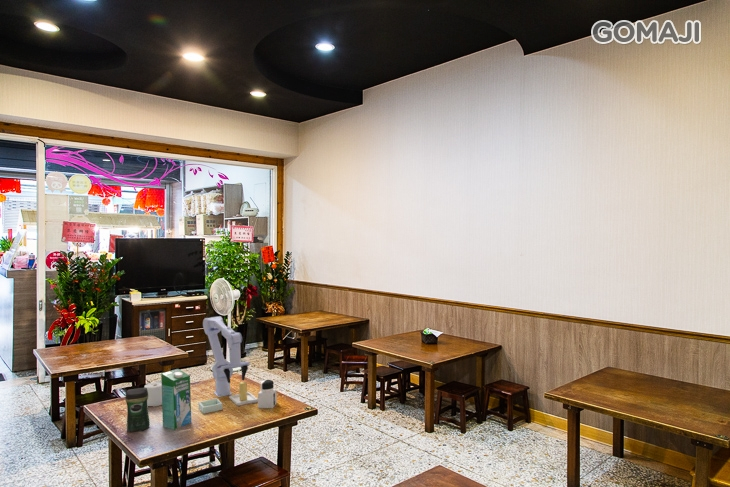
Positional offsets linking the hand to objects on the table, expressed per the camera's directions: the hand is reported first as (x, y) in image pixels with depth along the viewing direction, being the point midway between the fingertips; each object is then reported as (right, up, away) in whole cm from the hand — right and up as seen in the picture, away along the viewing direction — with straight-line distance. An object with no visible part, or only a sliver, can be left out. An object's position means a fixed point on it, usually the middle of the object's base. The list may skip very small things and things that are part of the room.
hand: (236, 381), depth 253 cm
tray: (+4, -10, 0) cm, 11 cm away
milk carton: (-19, -12, -31) cm, 38 cm away
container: (+19, -10, -9) cm, 23 cm away
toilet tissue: (-43, -12, 0) cm, 45 cm away
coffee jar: (-36, -12, -35) cm, 51 cm away
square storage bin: (-10, -11, -13) cm, 19 cm away
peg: (+4, -10, -1) cm, 10 cm away
